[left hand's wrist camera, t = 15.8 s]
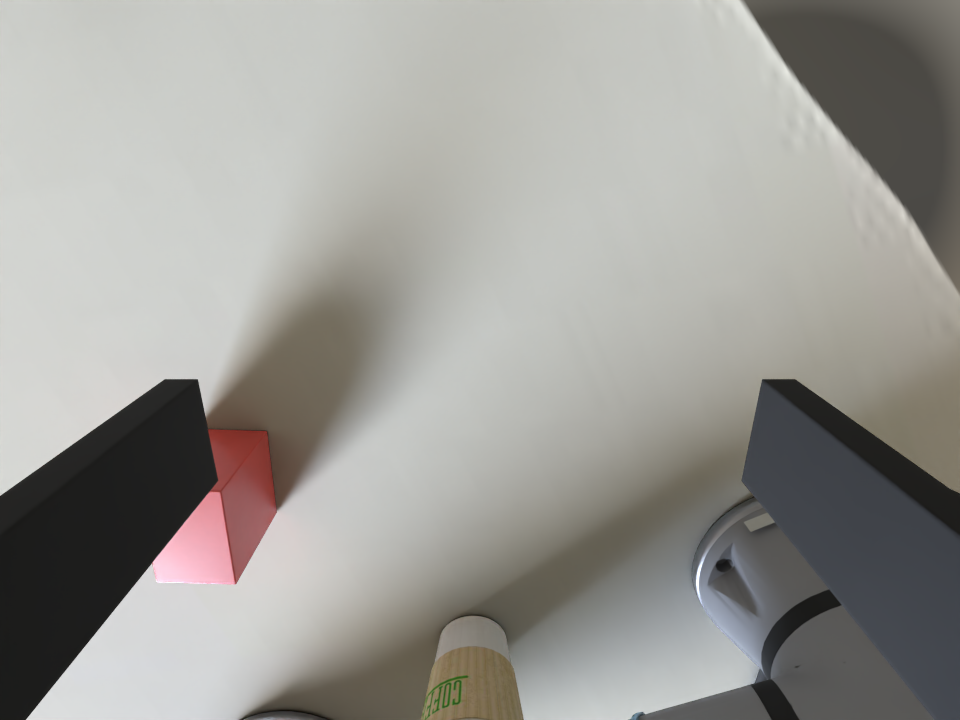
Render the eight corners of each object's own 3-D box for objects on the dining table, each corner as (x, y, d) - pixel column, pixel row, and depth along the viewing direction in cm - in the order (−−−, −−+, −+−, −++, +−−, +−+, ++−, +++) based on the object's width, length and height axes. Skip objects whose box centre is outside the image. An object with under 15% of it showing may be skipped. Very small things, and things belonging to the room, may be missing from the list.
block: (267, 430, 42) (221, 491, 34) (277, 512, 44) (236, 585, 37) (196, 428, 42) (134, 488, 34) (210, 510, 44) (156, 582, 37)
